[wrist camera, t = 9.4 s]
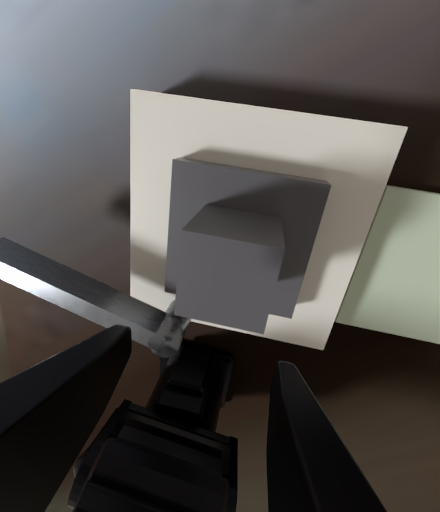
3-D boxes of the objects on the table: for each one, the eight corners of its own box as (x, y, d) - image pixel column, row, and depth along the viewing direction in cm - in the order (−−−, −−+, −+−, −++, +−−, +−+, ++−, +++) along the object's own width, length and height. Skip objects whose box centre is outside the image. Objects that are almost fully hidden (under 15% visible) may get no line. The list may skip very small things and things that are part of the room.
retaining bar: (197, 306, 19) (182, 341, 15) (188, 324, 20) (172, 362, 16) (24, 225, 19) (-28, 244, 15) (22, 247, 19) (-28, 270, 16)
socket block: (316, 323, 22) (323, 350, 19) (147, 287, 23) (130, 307, 20) (384, 129, 16) (408, 126, 13) (152, 96, 17) (130, 88, 14)
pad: (472, 344, 20) (480, 352, 19) (333, 315, 21) (335, 322, 20) (560, 212, 16) (574, 216, 15) (382, 184, 17) (387, 186, 16)
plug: (287, 285, 20) (298, 378, 12) (183, 264, 21) (131, 339, 13) (317, 174, 17) (359, 206, 9) (192, 154, 18) (131, 167, 10)
